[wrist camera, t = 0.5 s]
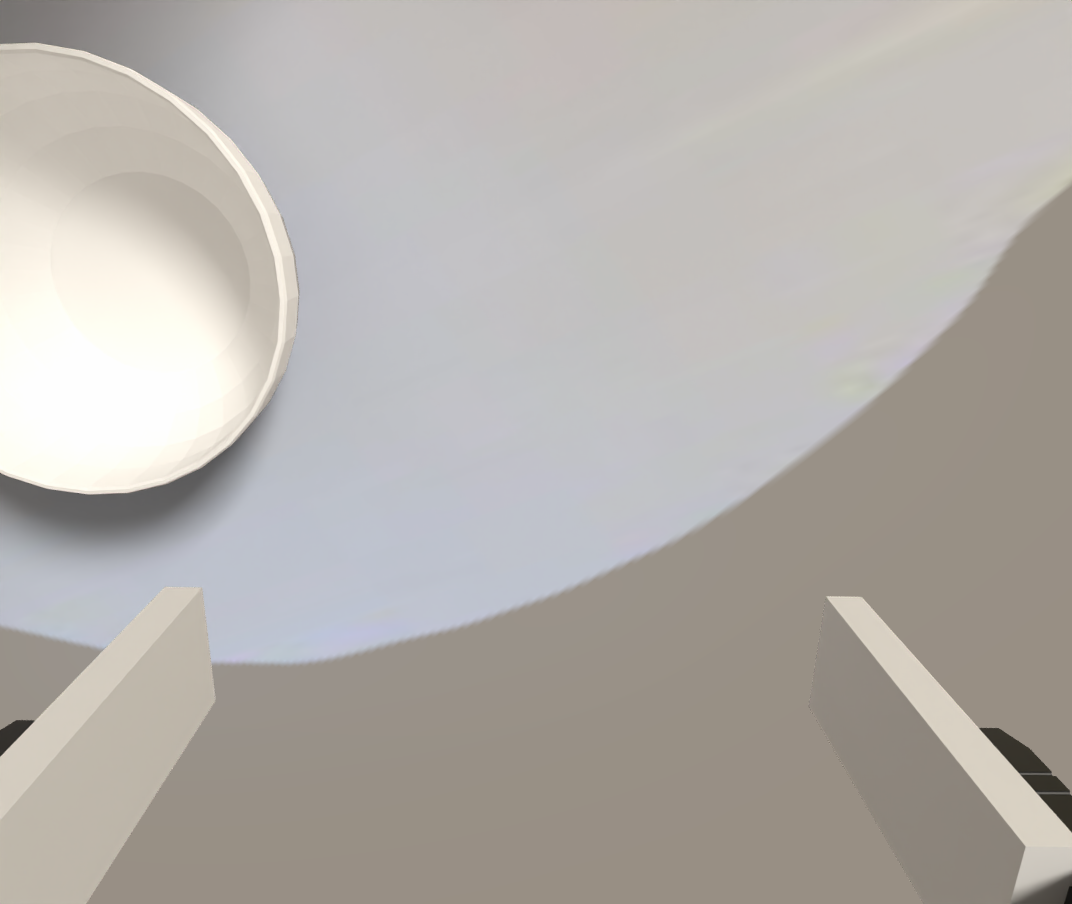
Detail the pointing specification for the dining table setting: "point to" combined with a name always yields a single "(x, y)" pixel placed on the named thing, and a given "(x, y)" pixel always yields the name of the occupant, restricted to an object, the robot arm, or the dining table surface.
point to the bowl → (129, 279)
